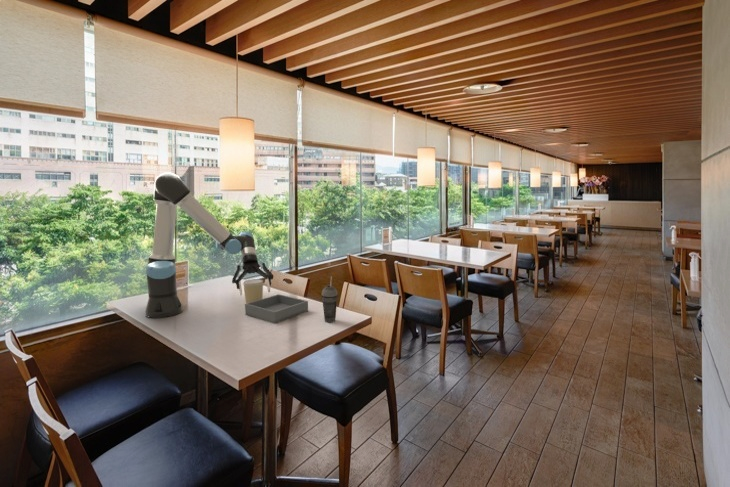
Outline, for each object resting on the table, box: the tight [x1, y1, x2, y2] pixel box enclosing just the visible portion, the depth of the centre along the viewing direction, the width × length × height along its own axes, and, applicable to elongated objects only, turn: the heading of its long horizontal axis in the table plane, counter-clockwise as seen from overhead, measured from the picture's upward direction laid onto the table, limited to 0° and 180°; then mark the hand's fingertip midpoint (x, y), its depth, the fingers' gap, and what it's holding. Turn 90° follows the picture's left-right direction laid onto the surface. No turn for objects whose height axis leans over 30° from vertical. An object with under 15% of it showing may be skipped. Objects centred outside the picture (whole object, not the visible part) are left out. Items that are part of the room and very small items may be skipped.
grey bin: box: [244, 293, 309, 324], centre depth 173 cm, size 20×20×5 cm
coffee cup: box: [242, 278, 264, 304], centre depth 185 cm, size 9×9×12 cm
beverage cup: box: [320, 275, 339, 324], centre depth 162 cm, size 7×7×20 cm
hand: (255, 292), depth 186 cm, fingers open, 13 cm apart
